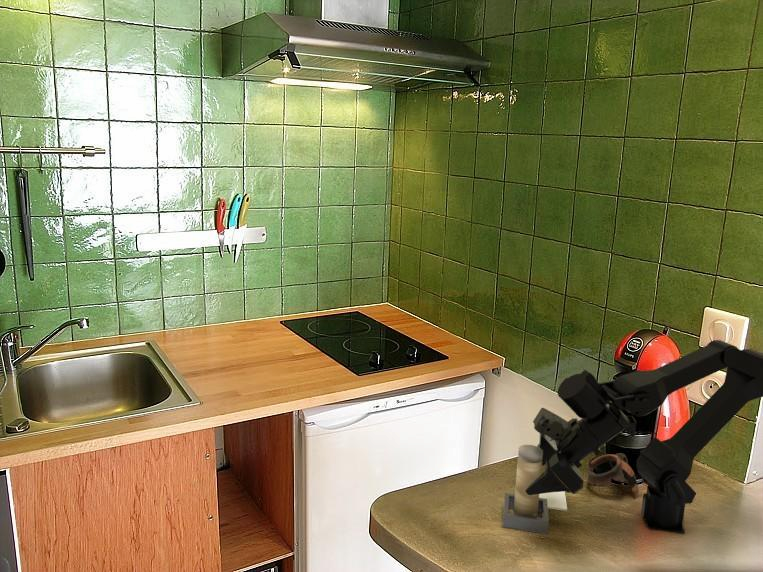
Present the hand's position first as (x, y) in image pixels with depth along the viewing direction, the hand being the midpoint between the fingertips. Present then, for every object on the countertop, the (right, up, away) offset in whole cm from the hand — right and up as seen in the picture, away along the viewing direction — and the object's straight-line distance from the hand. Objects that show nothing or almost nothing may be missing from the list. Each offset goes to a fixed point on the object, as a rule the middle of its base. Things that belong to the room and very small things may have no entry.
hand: (525, 480), depth 116 cm
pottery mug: (+22, -6, +14) cm, 27 cm away
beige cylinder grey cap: (0, -8, +2) cm, 8 cm away
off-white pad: (+6, -6, +9) cm, 13 cm away
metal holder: (0, -8, +2) cm, 8 cm away
